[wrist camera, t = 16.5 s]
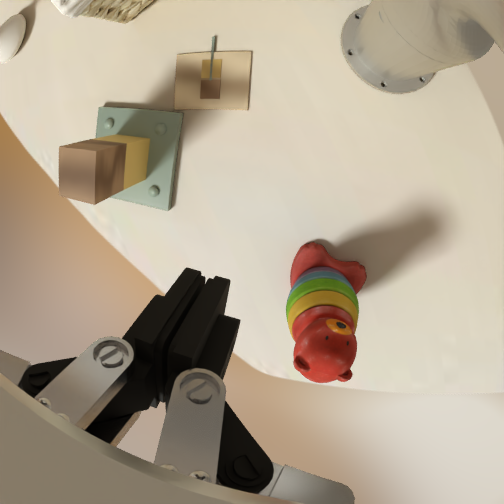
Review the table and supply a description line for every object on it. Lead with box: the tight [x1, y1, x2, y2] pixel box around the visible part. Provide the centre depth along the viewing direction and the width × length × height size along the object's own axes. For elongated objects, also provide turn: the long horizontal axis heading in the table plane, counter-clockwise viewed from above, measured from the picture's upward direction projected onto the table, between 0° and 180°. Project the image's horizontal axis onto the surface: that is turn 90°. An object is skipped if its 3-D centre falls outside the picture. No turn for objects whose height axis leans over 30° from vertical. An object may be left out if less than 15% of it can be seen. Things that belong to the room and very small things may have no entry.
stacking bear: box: [286, 242, 367, 383], centre depth 35 cm, size 11×10×18 cm
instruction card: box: [174, 36, 252, 110], centre depth 32 cm, size 10×10×1 cm
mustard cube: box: [92, 134, 150, 190], centre depth 36 cm, size 6×6×6 cm
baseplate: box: [96, 107, 183, 211], centre depth 39 cm, size 14×14×1 cm
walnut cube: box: [59, 139, 127, 205], centre depth 30 cm, size 6×6×6 cm
